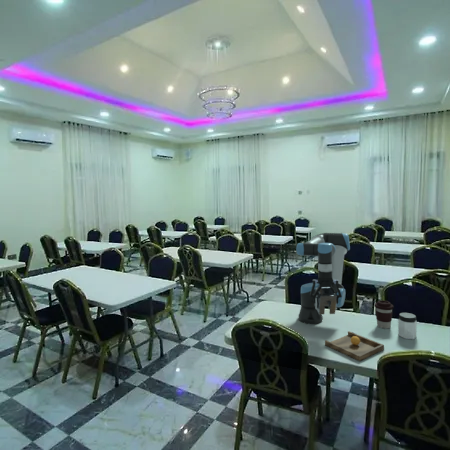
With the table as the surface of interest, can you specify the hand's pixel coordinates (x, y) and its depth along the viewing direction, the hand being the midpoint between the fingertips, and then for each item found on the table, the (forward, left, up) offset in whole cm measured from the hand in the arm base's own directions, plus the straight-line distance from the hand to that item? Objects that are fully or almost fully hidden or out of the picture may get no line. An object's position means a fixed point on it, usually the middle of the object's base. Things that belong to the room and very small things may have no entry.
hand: (325, 308), depth 183 cm
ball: (+18, +1, -12) cm, 22 cm away
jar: (+28, +34, -16) cm, 47 cm away
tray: (+19, 0, -15) cm, 24 cm away
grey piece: (-2, +1, -1) cm, 2 cm away
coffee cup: (+13, +36, -16) cm, 41 cm away
